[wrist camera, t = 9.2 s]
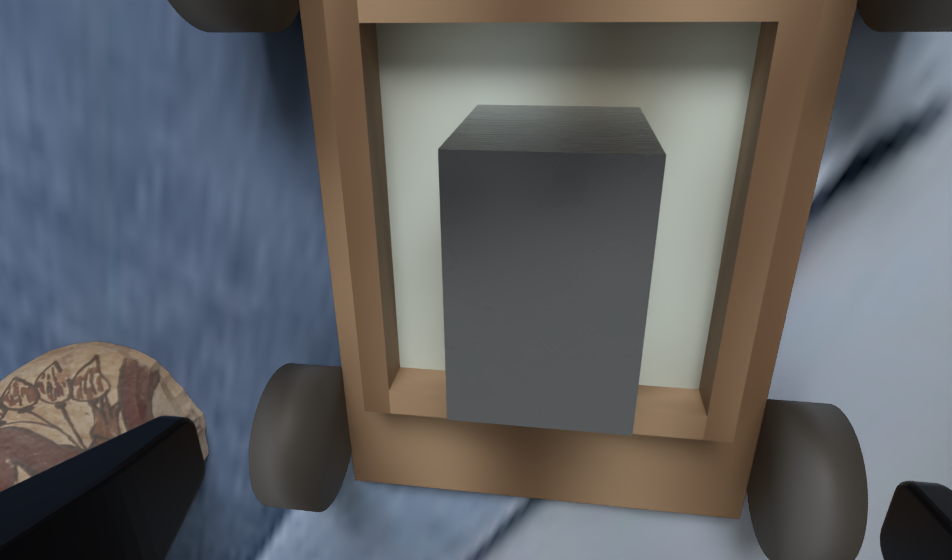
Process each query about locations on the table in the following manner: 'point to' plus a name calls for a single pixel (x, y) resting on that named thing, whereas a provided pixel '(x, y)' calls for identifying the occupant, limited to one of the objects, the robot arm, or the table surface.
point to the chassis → (674, 268)
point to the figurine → (82, 405)
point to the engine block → (548, 264)
